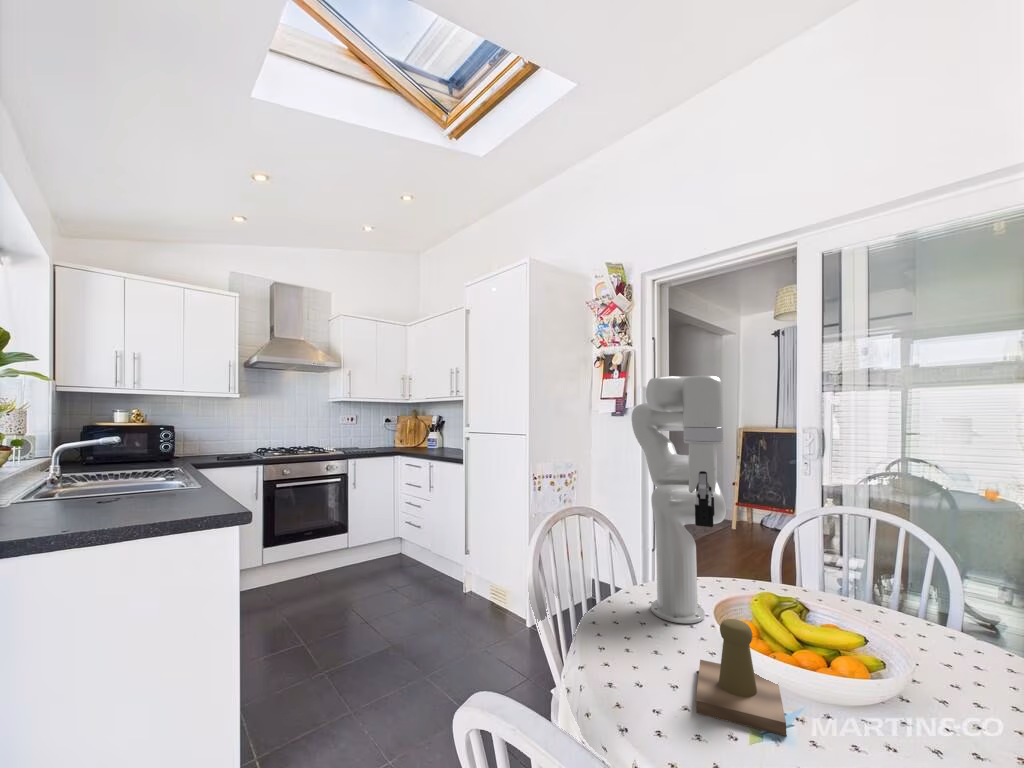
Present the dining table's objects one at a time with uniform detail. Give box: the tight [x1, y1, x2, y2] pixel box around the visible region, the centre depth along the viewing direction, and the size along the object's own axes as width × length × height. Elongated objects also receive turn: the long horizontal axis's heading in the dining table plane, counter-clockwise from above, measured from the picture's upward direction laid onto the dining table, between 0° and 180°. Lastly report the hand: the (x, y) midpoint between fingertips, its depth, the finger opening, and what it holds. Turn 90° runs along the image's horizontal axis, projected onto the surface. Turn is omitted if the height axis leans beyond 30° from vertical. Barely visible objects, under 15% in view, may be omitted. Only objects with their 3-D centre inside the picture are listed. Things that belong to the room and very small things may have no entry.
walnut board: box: [695, 659, 788, 737], centre depth 80 cm, size 14×13×2 cm
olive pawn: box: [719, 618, 757, 697], centre depth 80 cm, size 6×6×11 cm
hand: (705, 520), depth 92 cm, fingers open, 9 cm apart
